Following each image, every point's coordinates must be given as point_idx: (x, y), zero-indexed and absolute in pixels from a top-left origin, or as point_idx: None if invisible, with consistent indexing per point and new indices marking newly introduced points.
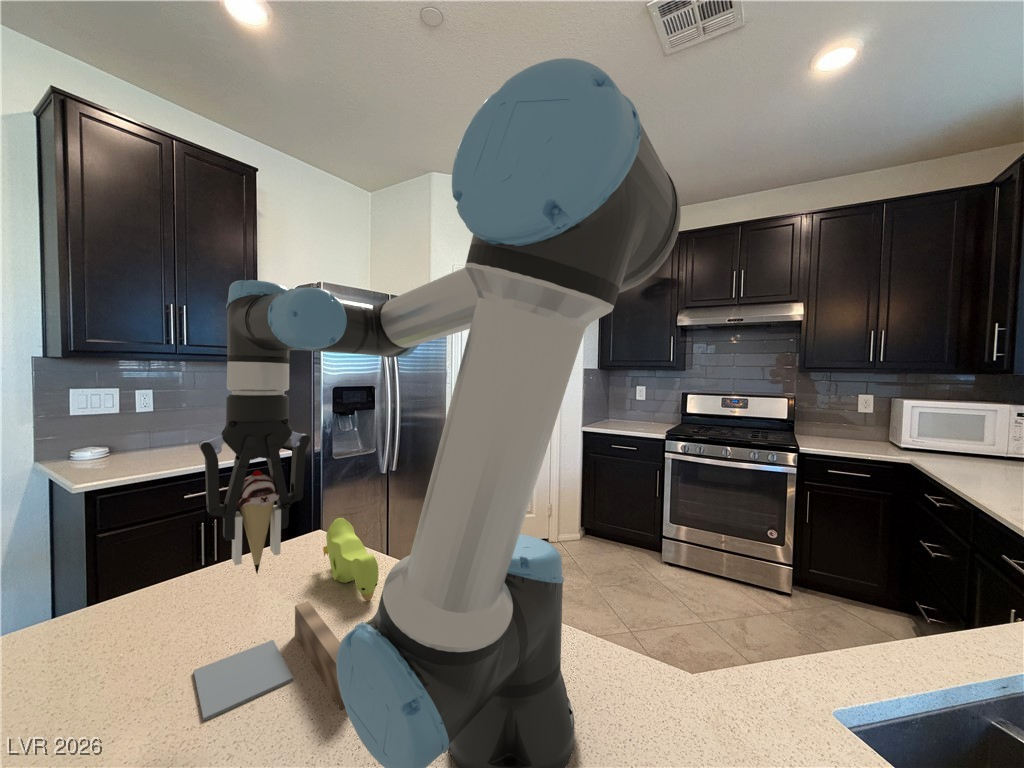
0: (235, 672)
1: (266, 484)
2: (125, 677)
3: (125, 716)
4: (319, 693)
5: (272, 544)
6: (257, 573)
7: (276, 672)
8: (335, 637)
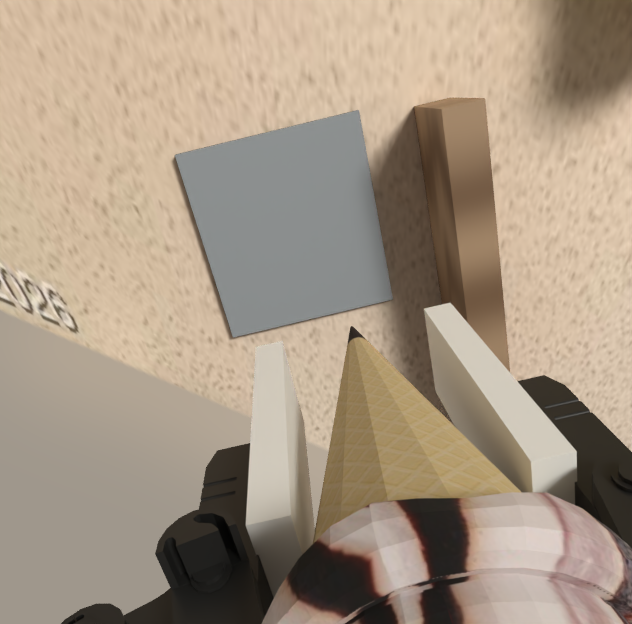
0: (274, 217)
1: None
2: (5, 81)
3: (77, 248)
4: None
5: (442, 370)
6: (353, 327)
7: (361, 264)
8: (505, 346)
